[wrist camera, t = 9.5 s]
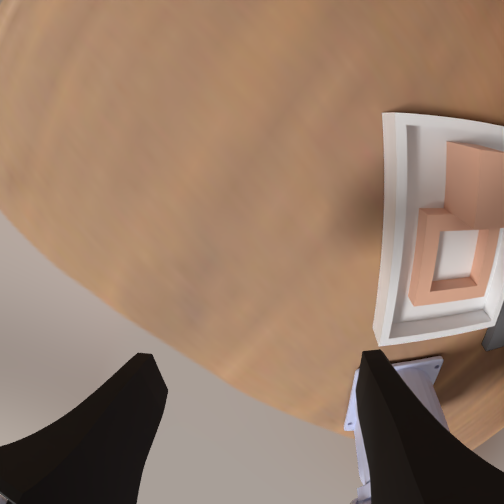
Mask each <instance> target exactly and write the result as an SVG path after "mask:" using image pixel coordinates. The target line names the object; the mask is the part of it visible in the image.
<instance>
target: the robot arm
mask: <svg viewBox="0 0 504 504" xmlns="http://www.w3.org/2000/svg"><path fill="white" fill-rule="evenodd" d="M442 363H443V358H442V356H436V357H431V358H425V359H420V360H414V361H408V362H401V363H395V364H391V363H390V361H389V360H388V359H387V357H386V356H385V354H384V353H383V351H381V350H380V349H379V350H371V351H363V352H362V358H361V364H360V368H359V369H357V370H356V371H355V375H354V380H353V385H352V391H351V396H350V401H349V405H348V410H347V414H346V419H345V423H344V430H345V431H352V430H354V435H355V442H356V451H357V459H358V469H359V476H360V479H361V481H362V483H363V485H364V486H361V487H359V488H357V493H358V498H356V499H354V500H353V501H352V502H351V503H350V504H504V472H502V471H501V470H499V469H497V468H496V467H494V466H492V465H491V464H489V463H488V462H486V461H485V460H483V459H482V458H481V457H479V456H478V455H477V454H475V453H474V452H473V451H471V450H470V449H469V448H467V447H466V446H465V445H464V444H462V443H461V442H460V441H459V440H458V439H457V438H455V437H454V436H453V435H452V434H451V433H450V431H449V428H448V425H447V422H446V419H445V416H444V414H443V411H442V408H441V405H440V403H439V400H438V397H437V395H436V392H435V390H434V387H433V384H434V382H435V380H436V378H437V375H438V373H439V371H440V368H441V366H442ZM167 394H168V389H167V387H166V384H165V382H164V380H163V378H162V376H161V373H160V371H159V369H158V367H157V364H156V362H155V360H154V357H153V355H152V354H145V353H137V354H136V355H135V356H133V357H132V358H131V359H130V360H129V361H128V362H127V363H126V364H125V365H124V366H122V367H121V368H120V369H119V370H118V371H117V372H116V373H115V374H114V375H113V376H112V377H111V378H110V379H108V380H107V381H106V382H105V383H104V384H103V385H102V386H101V387H100V388H98V389H97V390H96V391H95V392H94V393H93V394H91V395H90V396H89V397H88V398H87V399H85V400H84V401H83V402H82V403H80V404H79V405H78V406H77V407H76V408H74V409H73V410H72V411H70V412H69V413H67V414H66V415H64V416H63V417H61V418H60V419H58V420H57V421H55V422H54V423H52V424H50V425H48V426H47V427H45V428H43V429H41V430H39V431H38V432H36V433H34V434H32V435H30V436H28V437H25V438H23V439H21V440H18V441H16V442H13V443H10V444H7V445H4V446H1V447H0V494H1V495H0V504H136V503H137V497H138V491H139V486H140V481H141V477H142V472H143V468H144V465H145V461H146V459H147V456H148V453H149V450H150V448H151V445H152V443H153V440H154V437H155V434H156V432H157V429H158V426H159V424H160V421H161V418H162V415H163V412H164V408H165V404H166V399H167ZM2 495H3V496H4V497H5V498H4V497H3V496H2ZM7 499H8V500H7Z"/></svg>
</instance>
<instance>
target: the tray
mask: <svg viewBox="0 0 504 504" xmlns="http://www.w3.org/2000/svg"><path fill="white" fill-rule="evenodd" d="M382 121H383V139H384V218H383V237H382V251H381V264H380V274H379V284H378V292H377V300H376V308H375V315H374V322H373V330H374V333H375V336H376V339H377V342H378V345H379V346H386V345H394V344H402V343H409V342H415V341H422V340H428V339H434V338H439V337H445V336H450V335H455V334H460V333H465V332H470V331H475V330H479V329H484V328H488V327H492V326H495V324H496V321H497V318H498V316H499V313H500V310H501V307H502V304H503V301H504V228H500V232H499V237H498V242H497V247H496V252H495V257H494V261H493V265H492V269H491V273H490V277H489V281H488V285H487V288H486V292H485V295H484V297H478V298H472V299H466V300H459V301H452V302H445V303H438V304H430V305H423V306H413V304H412V303H411V301H410V299H409V297H408V293H409V287H410V281H411V274H412V268H413V261H414V253H415V245H416V236H417V225H418V213H419V208H444V199H445V184H446V152H447V144H446V141H448V142H459V143H468V144H476V145H481V146H485V147H488V148H492V149H496V150H499V151H503V152H504V126H499V125H494V124H489V123H483V122H478V121H472V120H465V119H458V118H451V117H442V116H433V115H423V114H411V113H396V112H391V113H382ZM478 232H479V230H461V231H440V236H439V244H438V250H437V257H436V263H435V269H434V274H433V279H432V281H438V280H447V279H456V278H464V277H470V273H471V268H472V264H473V259H474V254H475V249H476V244H477V238H478Z"/></svg>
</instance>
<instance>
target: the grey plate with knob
mask: <svg viewBox="0 0 504 504" xmlns="http://www.w3.org/2000/svg"><path fill="white" fill-rule="evenodd" d="M482 346H483V347H484V349H485V351H489V350H493V349H496V348H500V347H503V346H504V301H503V304H502V307H501V310H500V313H499V316H498V318H497V321H496V324H495V326H492V327H488V330H487V332H486V335H485V337H484V340H483V342H482Z"/></svg>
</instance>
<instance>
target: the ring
mask: <svg viewBox="0 0 504 504" xmlns="http://www.w3.org/2000/svg"><path fill="white" fill-rule="evenodd" d="M446 144H447V152H446V184H445V199H444V208H419V213H418V225H417V236H416V245H415V253H414V261H413V268H412V274H411V281H410V287H409V293H408V297H409V299H410V301H411V303H412V304H413V306H423V305H430V304H438V303H445V302H452V301H459V300H466V299H472V298H478V297H484V295H485V292H486V288H487V285H488V281H489V277H490V273H491V269H492V265H493V261H494V257H495V252H496V247H497V242H498V237H499V232H500V228H504V152H503V151H499V150H496V149H492V148H488V147H485V146H481V145H476V144H468V143H459V142H448V141H446ZM461 230H479V232H478V238H477V244H476V249H475V254H474V259H473V264H472V268H471V273H470V277H464V278H456V279H447V280H438V281H432V279H433V274H434V269H435V263H436V257H437V250H438V244H439V236H440V231H461Z"/></svg>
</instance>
